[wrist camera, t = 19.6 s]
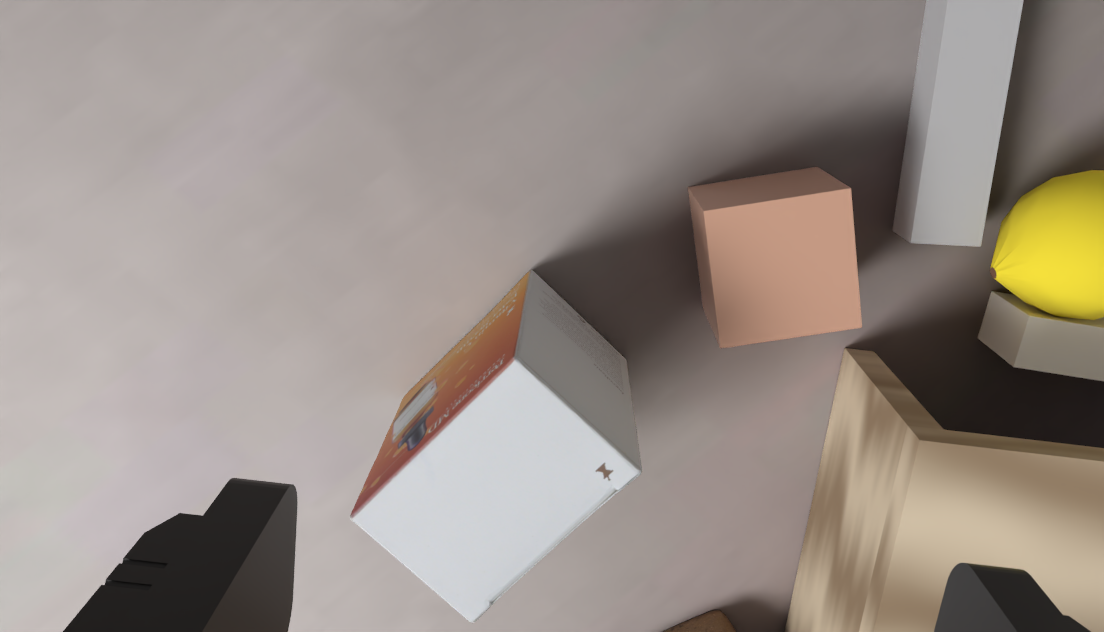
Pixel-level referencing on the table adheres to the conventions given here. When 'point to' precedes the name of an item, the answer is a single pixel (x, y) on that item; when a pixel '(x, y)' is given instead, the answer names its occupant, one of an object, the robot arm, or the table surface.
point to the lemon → (1056, 247)
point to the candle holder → (705, 623)
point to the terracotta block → (776, 256)
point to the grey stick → (956, 120)
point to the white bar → (1043, 338)
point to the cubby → (938, 513)
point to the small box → (502, 449)
